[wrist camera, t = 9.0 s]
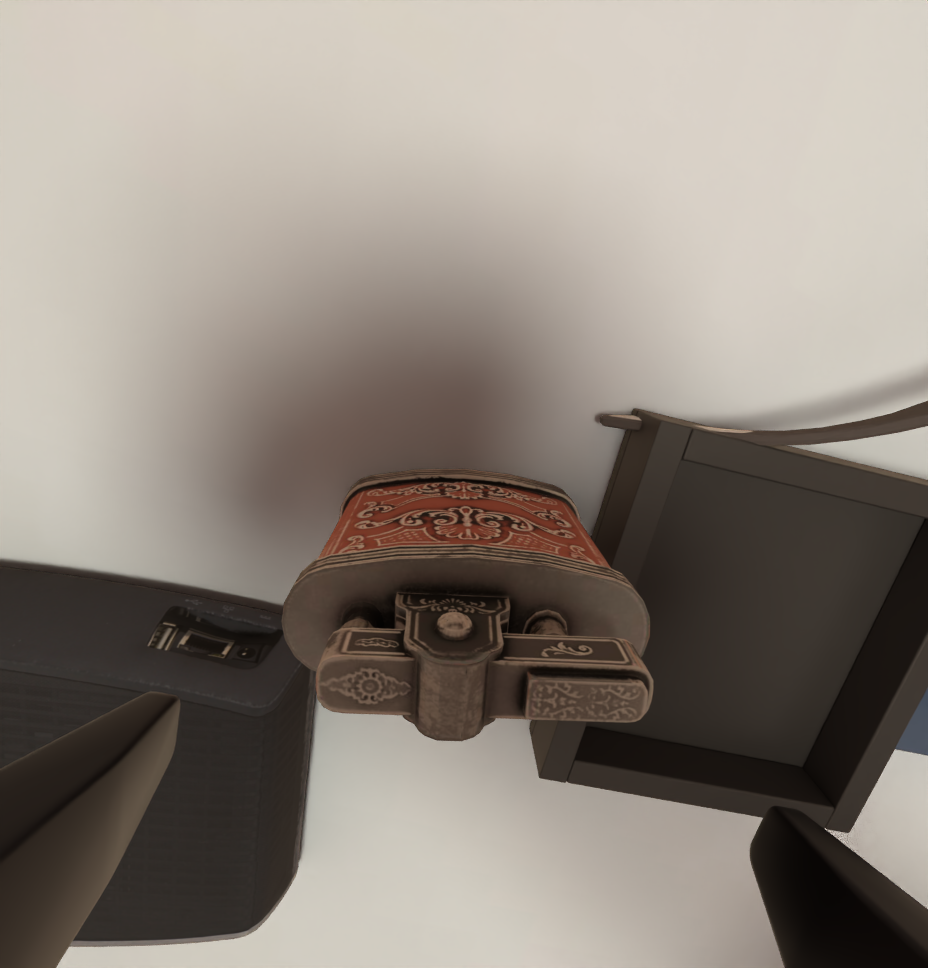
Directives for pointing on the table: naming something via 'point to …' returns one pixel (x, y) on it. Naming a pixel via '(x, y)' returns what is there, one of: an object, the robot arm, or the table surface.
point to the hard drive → (198, 750)
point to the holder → (758, 625)
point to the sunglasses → (872, 427)
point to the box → (916, 730)
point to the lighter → (468, 608)
